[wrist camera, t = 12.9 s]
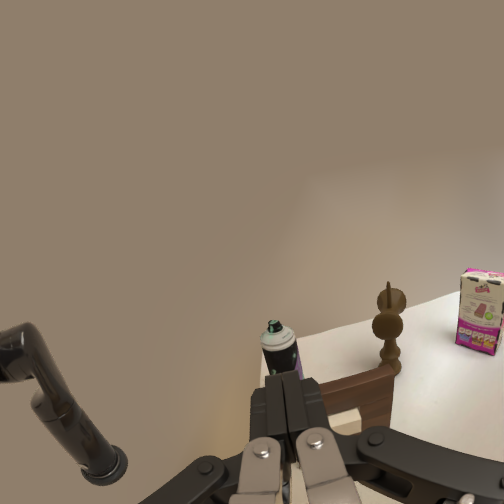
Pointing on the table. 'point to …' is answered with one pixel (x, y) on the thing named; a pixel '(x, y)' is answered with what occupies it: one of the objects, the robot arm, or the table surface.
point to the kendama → (389, 325)
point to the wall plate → (362, 396)
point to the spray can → (280, 349)
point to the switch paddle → (346, 421)
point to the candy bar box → (481, 310)
